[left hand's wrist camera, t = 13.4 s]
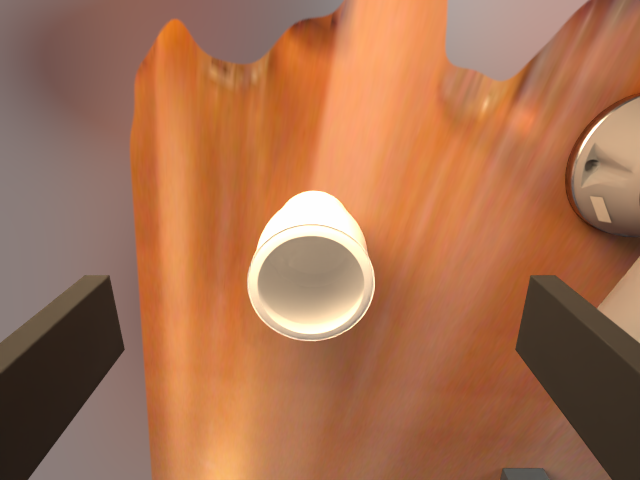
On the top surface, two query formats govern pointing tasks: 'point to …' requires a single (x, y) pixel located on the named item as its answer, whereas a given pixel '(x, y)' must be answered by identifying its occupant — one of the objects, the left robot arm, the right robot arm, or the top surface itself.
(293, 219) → the jar
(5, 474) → the left robot arm
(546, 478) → the brick
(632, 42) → the top surface
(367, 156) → the top surface
